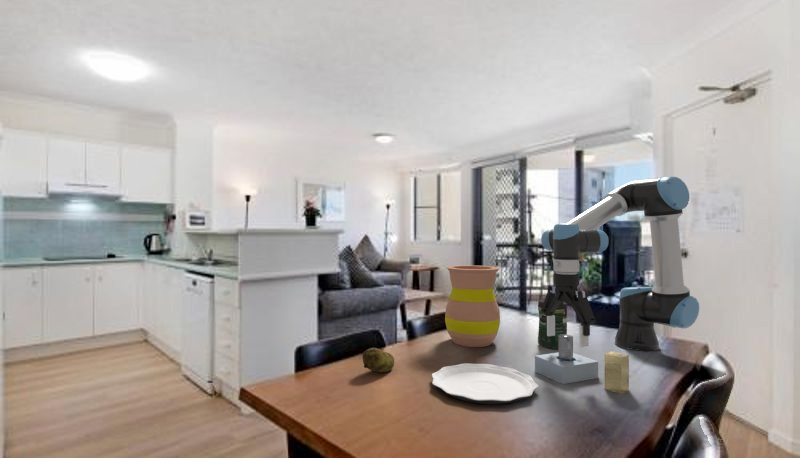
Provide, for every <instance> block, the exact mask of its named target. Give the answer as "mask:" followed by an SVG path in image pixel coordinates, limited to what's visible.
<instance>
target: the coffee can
mask: <svg viewBox="0 0 800 458" xmlns="http://www.w3.org/2000/svg"><path fill="white" fill-rule="evenodd" d="M563 303H564V313H563V332H564V335H568V304H567V303H565V302H563Z"/></svg>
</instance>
